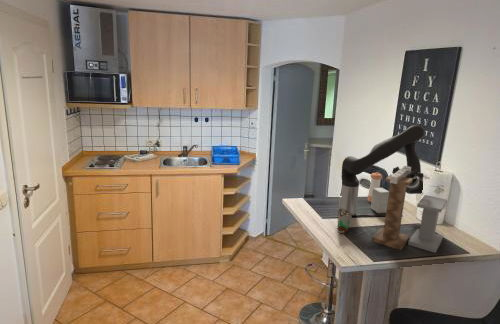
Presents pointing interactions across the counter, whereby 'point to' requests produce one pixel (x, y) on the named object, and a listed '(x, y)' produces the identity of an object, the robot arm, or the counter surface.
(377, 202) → the small box
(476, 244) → the counter surface
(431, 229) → the stand
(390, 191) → the tall stand
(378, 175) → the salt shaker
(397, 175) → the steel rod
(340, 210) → the food container
